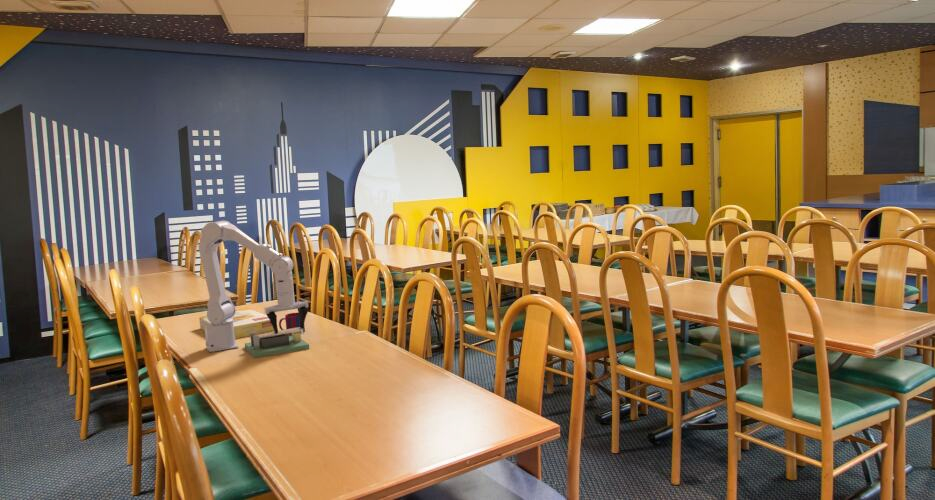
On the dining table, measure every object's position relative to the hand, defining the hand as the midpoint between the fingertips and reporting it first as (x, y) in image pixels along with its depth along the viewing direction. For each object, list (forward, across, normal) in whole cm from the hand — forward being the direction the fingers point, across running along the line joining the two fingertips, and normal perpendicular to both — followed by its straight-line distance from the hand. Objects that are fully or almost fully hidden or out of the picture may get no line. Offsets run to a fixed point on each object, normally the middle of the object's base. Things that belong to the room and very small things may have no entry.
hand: (289, 330), depth 225 cm
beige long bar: (+2, -4, 0) cm, 4 cm away
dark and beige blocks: (+4, -5, 0) cm, 6 cm away
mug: (+6, +5, +19) cm, 20 cm away
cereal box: (+6, -10, +39) cm, 41 cm away
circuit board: (+5, -5, 0) cm, 7 cm away
